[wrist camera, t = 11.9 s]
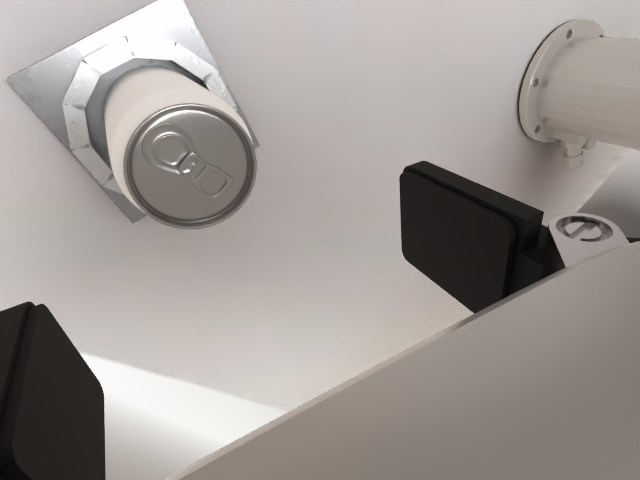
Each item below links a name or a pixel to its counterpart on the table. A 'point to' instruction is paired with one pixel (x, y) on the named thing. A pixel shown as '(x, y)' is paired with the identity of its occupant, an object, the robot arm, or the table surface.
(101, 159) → the duct collar
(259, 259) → the table surface
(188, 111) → the can
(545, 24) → the table surface
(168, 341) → the table surface
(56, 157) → the table surface
